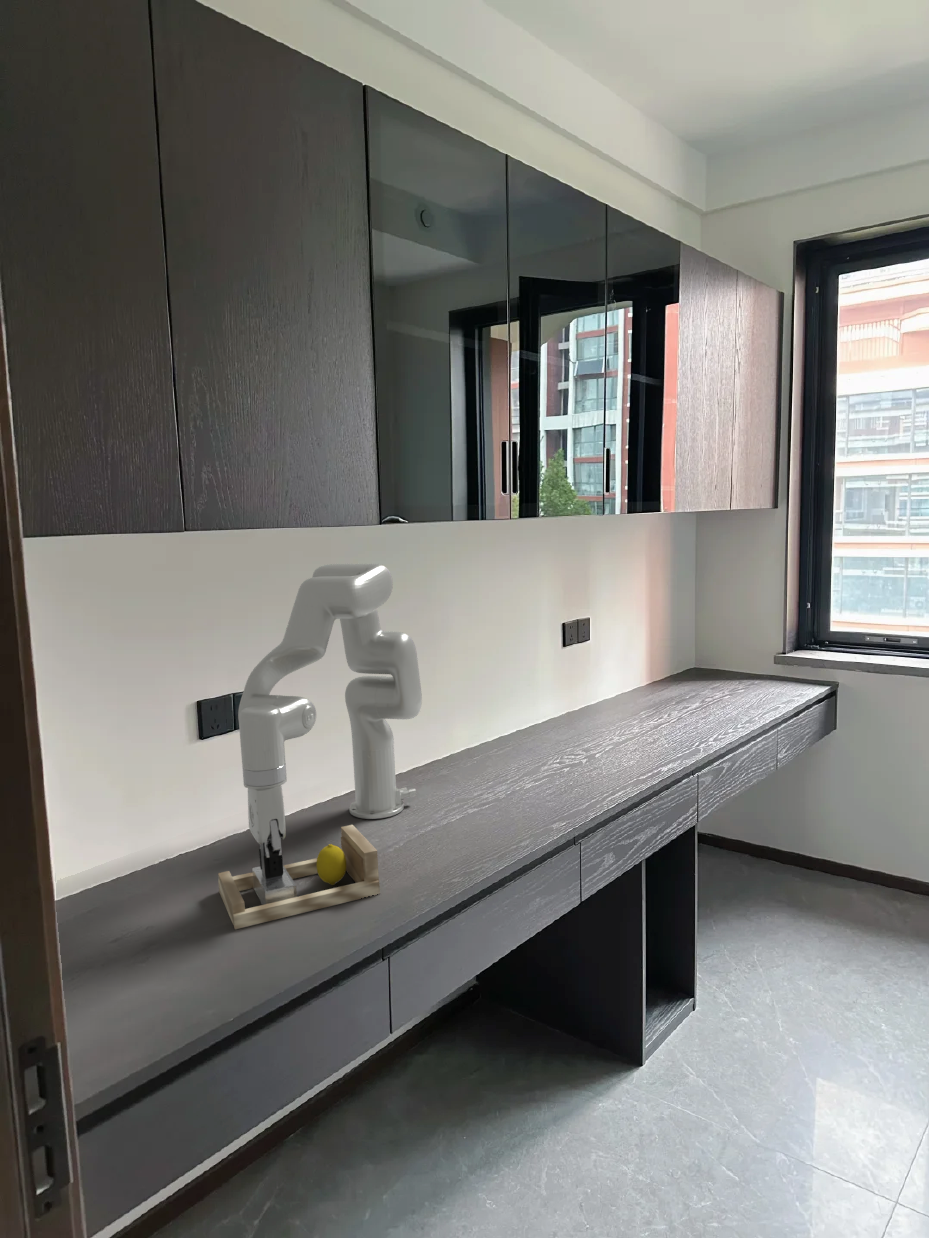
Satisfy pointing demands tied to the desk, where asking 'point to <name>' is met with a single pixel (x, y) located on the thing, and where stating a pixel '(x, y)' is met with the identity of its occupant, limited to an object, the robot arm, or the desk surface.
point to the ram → (272, 883)
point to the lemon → (331, 864)
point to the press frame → (358, 867)
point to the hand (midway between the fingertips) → (271, 871)
